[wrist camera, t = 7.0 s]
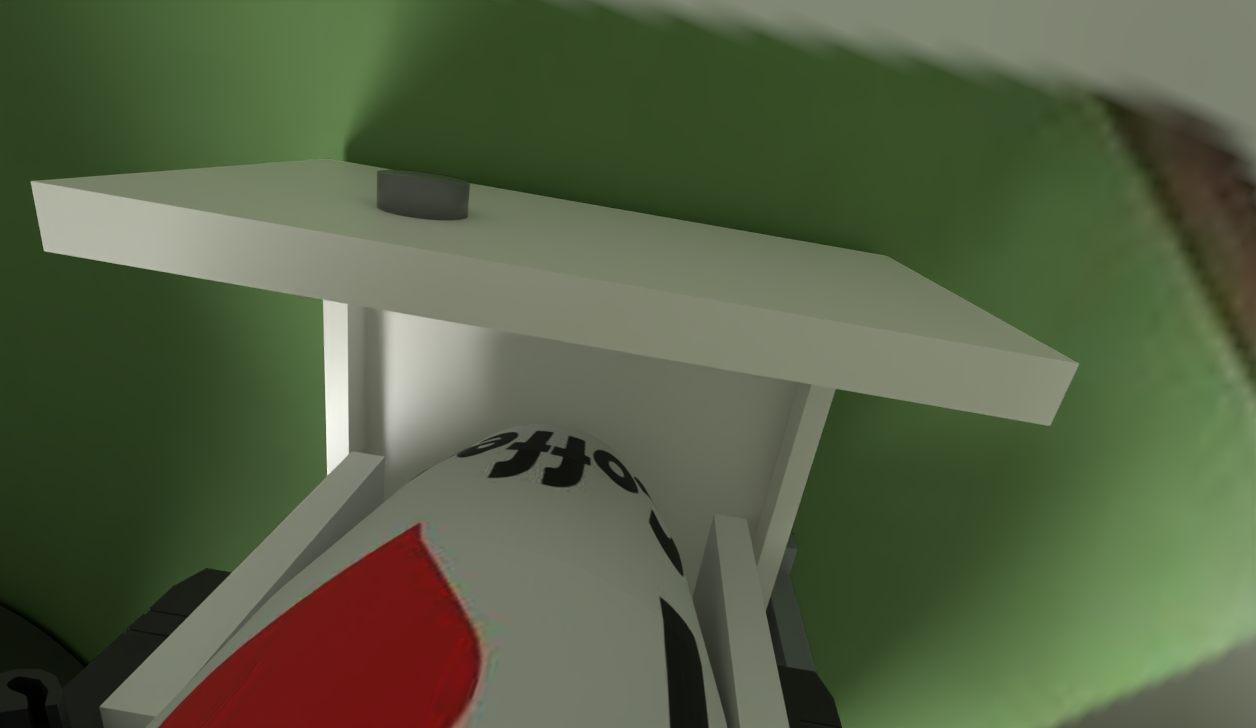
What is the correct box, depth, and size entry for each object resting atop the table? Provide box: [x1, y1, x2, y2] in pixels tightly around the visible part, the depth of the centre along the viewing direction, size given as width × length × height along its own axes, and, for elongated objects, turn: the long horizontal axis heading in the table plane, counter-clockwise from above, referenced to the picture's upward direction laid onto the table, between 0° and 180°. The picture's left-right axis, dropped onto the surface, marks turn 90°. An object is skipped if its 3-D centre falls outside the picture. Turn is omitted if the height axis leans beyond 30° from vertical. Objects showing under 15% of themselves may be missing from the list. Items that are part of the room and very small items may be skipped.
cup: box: [146, 424, 727, 728], centre depth 10 cm, size 8×8×10 cm
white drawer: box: [31, 158, 1079, 611], centre depth 15 cm, size 14×15×8 cm
